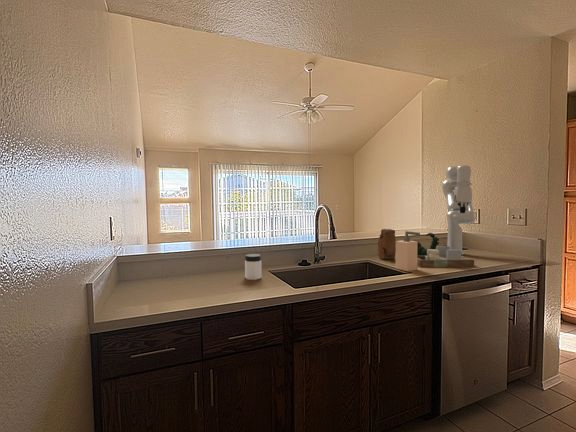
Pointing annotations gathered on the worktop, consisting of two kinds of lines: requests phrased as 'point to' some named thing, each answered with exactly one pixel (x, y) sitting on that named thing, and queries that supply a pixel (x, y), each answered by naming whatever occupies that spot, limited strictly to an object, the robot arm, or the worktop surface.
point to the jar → (253, 266)
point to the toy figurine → (423, 252)
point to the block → (387, 244)
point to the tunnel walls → (449, 253)
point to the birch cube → (433, 253)
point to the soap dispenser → (406, 253)
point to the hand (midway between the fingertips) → (462, 213)
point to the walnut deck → (444, 262)
